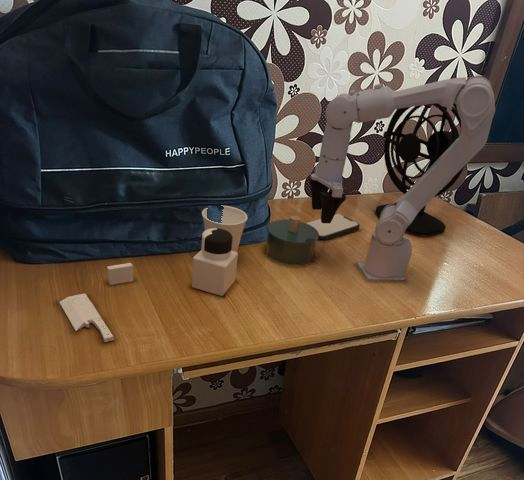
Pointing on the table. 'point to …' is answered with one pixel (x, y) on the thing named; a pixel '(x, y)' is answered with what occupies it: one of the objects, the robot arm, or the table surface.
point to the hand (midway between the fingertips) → (321, 215)
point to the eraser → (120, 273)
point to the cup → (228, 223)
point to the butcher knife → (84, 314)
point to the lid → (293, 231)
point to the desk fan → (411, 151)
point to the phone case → (334, 227)
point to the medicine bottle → (215, 262)
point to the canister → (289, 251)
